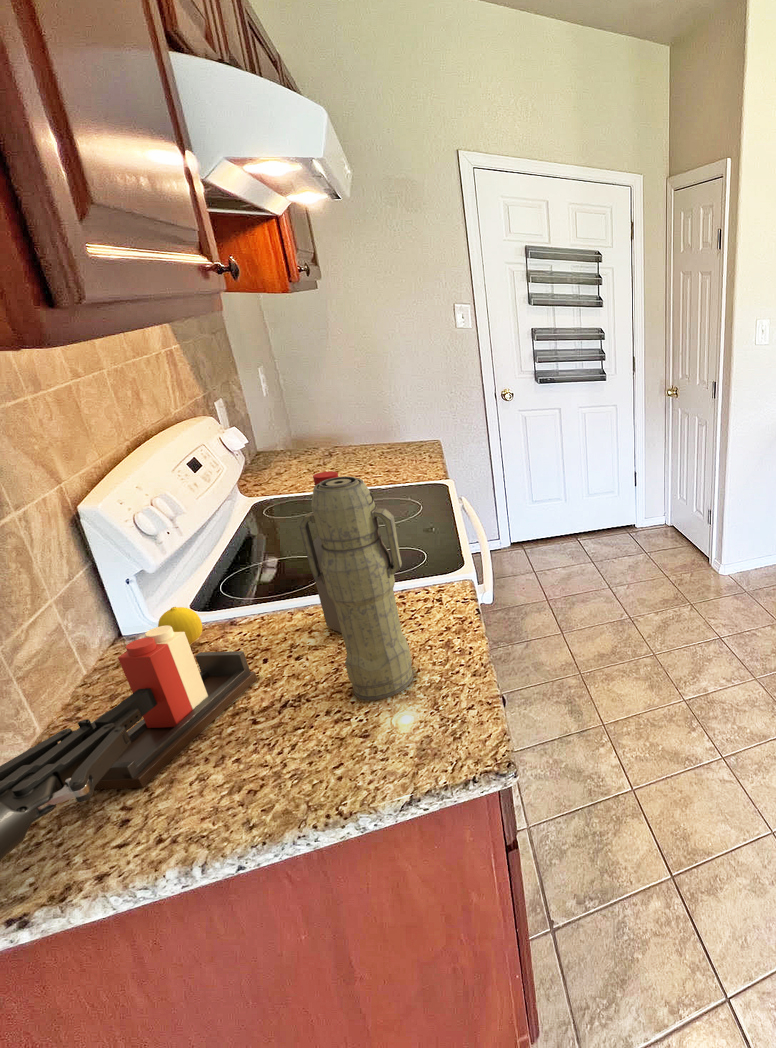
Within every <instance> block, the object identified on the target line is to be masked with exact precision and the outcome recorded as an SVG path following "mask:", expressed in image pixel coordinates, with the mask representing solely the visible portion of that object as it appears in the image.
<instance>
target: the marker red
mask: <svg viewBox="0 0 776 1048" xmlns="http://www.w3.org/2000/svg"><path fill="white" fill-rule="evenodd" d="M125 650H126V651H125V652H124V653H122V654H121V655H119V656H118V657H117V659H118V662H119V664H120V667H121V669H122V671H123V673H124V676H125V678H126V681H127V683H128V685H129V688H130V690H131V694H133V693H134V692H135V691H137V690H138V689H150V688H151V690H152V693H153V695H154V697H155V700H156V702H157V705H156V706H155V707H153V708H152V709H151V710H150V711H148V712H147V713H146V714H145V715H144V716H142V719H144V721H145V723H146V726H147V728H162V727H175V726H176V725H177V724H178V723H180V722H181V721H182V720H183V719H184V718H185V717H186V716H187V715H189V714H190V713H191V712H192V711H193V709H192V707H191V704H190V702H189V699H188V696H187V694H186V691H185V689H184V686H183V683H182V681H181V678H180V676H179V673H178V670H177V668H176V665H175V662H174V660H173V657H172V655H171V652H170V649H169V647H168V644H156V643H155V640H154V639H153V638H150V637H148V638H146V637H142V638H138V639H135V640H132V641H131V642H129V643H128V644H126V645H125Z"/></svg>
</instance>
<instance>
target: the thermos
mask: <svg viewBox="0 0 776 1048" xmlns="http://www.w3.org/2000/svg"><path fill="white" fill-rule="evenodd" d="M310 504H311V505H310V507H311V510H312V512H307V513H306V514H305V516H304V517H303V518H302V521H301V522H300V524H299V526H298V527H299V531H300V535H301V538H302V542H303V547H304V551H305V554H306V558H307V562H308V565H309V569H310V572H311V574H312V577H313V579H314V582H315V581H321V580H322V583H323V584H326V588H327V592H328V595H329V597H330V599H331V600H332V601H333V602H334V604H335V608H336V612H337V616H338V620H339V624H340V628H341V632H342V633H341V635H342V639H343V643H344V647H345V651H346V658H345V662H344V665H345V669H346V672H347V676H348V679H349V682H350V683H351V685H352V692H353V694H354V696H355V697H356V698H357V699H360V700H363V701H364V700H365V701H377V700H382V699H386V698H389V697H391V696H394V695H397V694H399V693H400V692H402V691H403V690H404V689H406V688H407V687H408V686H409V685H410V684H411V683H412V681H413V679H414V671H413V668H412V662H413V660H412V655H411V649H410V645H409V643H408V641H407V637H406V636H405V635H404V633H403V629H402V626H401V625H402V624H401V620H400V615H399V611H398V605H397V601H396V596H395V591H394V587H395V584H396V583H395V582H396V579H395V574H397V572H398V571H399V570H400V569H401V568H402V566H403V561H402V556H401V553H400V546H399V539H398V534H397V533H398V532H397V528H396V527H397V526H396V520H395V515H394V514H393V513H391V512H390V511H389V510H388V509H387V508H385V507H378V506H377V505H376V503H375V499H374V496H373V494H372V492H371V490H370V489H369V488H368V486H367V484H366V483H365V481H364V480H363V479H361V478H358V477H354V476H338V477H336V478H330V479H327V480H324V481H322V482H320V483H319V484H317V485H315V484H314V486H313V490H312V496H311V503H310ZM378 517H379V518H380V519H381V520H382V521H383V522H384V526H385V531H386V536H387V540H388V546H389V549H388V548H387V546H386V545H385V543H384V541H383V539H382V534H380V532H379V529H380V523H379V519H378ZM309 522H311V524H315V527H316V531H317V536H318V535H319V537H320V539H321V540H322V545H321V547H322V551H323V554H322V561H321V568H322V572H321V573H320V567H319V564H318V560H317V556H316V552H315V548H314V544H313V541H314V539H313V537H312V532H311V529H310V524H309ZM389 550H390V551H389Z"/></svg>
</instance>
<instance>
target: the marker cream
mask: <svg viewBox="0 0 776 1048" xmlns="http://www.w3.org/2000/svg"><path fill="white" fill-rule="evenodd" d="M144 636H145V637H144V638H148V637H150V638H153V639H154V640H155V643H156V644H168V647H169V649H170V652H171V655H172V657H173V660H174V662H175V665H176V668H177V670H178V673H179V676H180V678H181V681H182V683H183V686H184V689H185V691H186V694H187V696H188V699H189V702H190V704H191V707H192V709H193V710H194V709H195V708H196V707H198V706H199V705H200V704H201V703H202V702H203V701H204V700H206V699H207V698H208V694H207V692H206V689H205V686H204V684H203V681H202V678H201V675H200V669H199V666H198V663H197V661H196V658H195V656H194V654H193V651H192V648H191V645H189V643H188V640H187V637H186V635H185V632H173V629H172V627H171V626H160V627H158V626H156V627H153V628H151V629H149V630H147V631H146V632H145V633H144Z"/></svg>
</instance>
